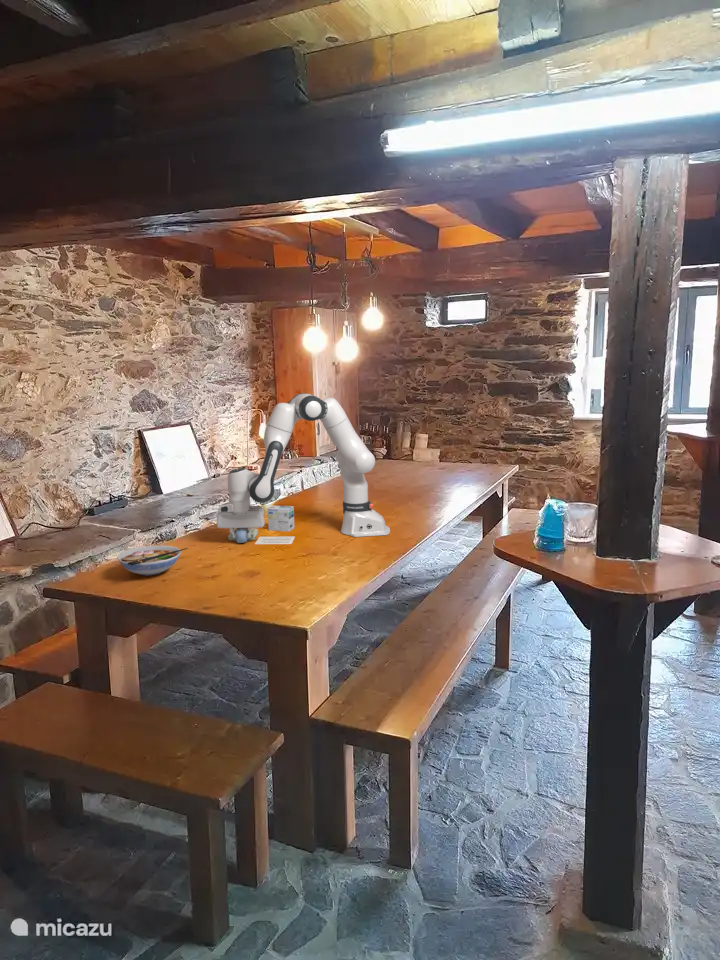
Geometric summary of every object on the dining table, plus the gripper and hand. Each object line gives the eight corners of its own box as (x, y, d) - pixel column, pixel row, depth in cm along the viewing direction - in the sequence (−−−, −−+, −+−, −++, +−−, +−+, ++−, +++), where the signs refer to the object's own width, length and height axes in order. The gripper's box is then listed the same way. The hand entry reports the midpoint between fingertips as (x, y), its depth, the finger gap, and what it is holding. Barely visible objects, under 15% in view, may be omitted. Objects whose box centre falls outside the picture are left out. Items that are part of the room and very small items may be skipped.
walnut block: (250, 534, 296) (249, 523, 295) (248, 537, 291) (247, 526, 290) (239, 534, 296) (238, 523, 295) (236, 537, 291) (236, 526, 290)
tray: (258, 534, 299) (257, 528, 299) (253, 540, 288) (253, 535, 288) (234, 534, 299) (233, 528, 299) (228, 540, 289) (228, 535, 288)
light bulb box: (294, 528, 308) (294, 505, 306) (289, 532, 302) (288, 509, 300) (273, 527, 311) (272, 504, 309) (268, 530, 305) (267, 507, 303)
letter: (295, 536, 294) (295, 536, 293) (291, 544, 282) (291, 543, 282) (259, 537, 294) (259, 536, 294) (254, 544, 282) (254, 544, 282)
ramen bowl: (161, 559, 264) (160, 539, 262) (197, 570, 249) (196, 549, 248) (103, 575, 245) (101, 554, 243) (138, 588, 230) (136, 565, 229)
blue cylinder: (248, 539, 286) (247, 528, 285) (246, 542, 281) (245, 531, 280) (237, 540, 286) (237, 528, 285) (235, 542, 281) (235, 531, 280)
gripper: (265, 503, 283) (267, 535, 286) (218, 504, 284) (220, 535, 287) (262, 507, 277) (264, 539, 280) (214, 508, 278) (216, 540, 280)
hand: (241, 537), depth 283 cm, fingers closed on blue cylinder, 4 cm apart
